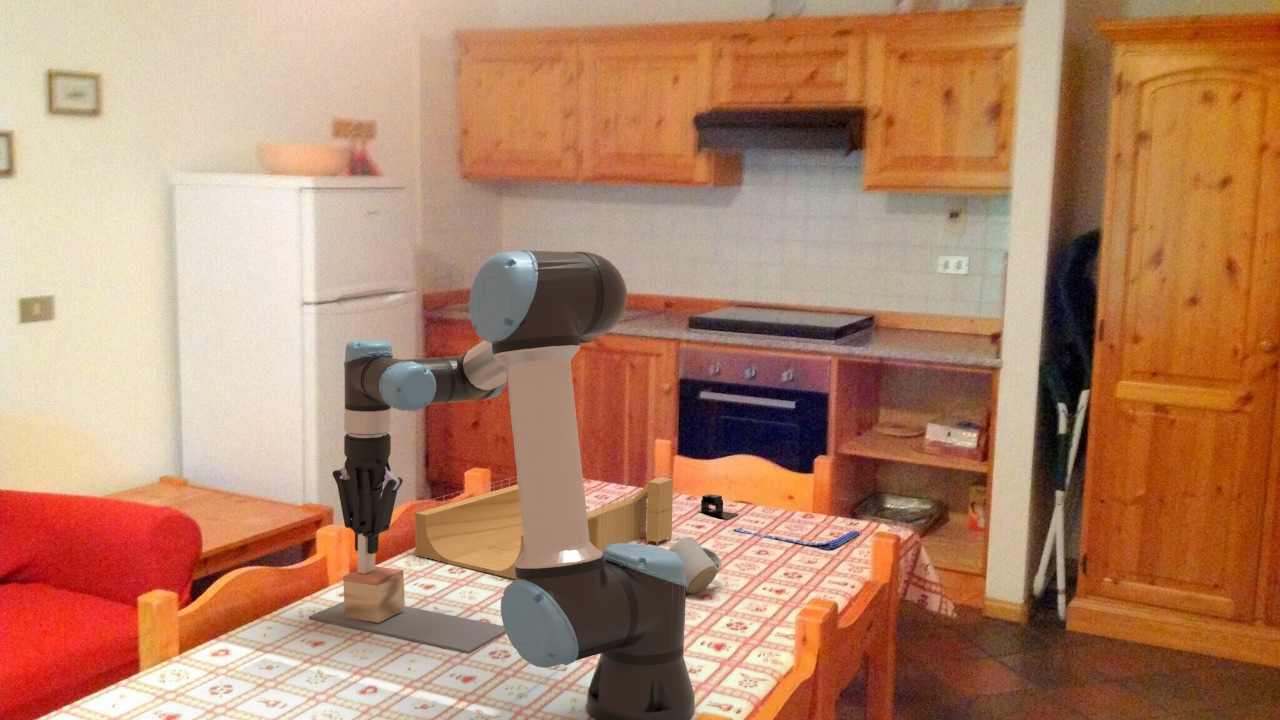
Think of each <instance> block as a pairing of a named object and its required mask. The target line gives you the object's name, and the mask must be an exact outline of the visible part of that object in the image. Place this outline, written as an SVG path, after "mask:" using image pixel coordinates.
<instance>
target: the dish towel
mask: <svg viewBox="0 0 1280 720" xmlns="http://www.w3.org/2000/svg"><path fill="white" fill-rule="evenodd" d="M732 531H733V532H736V533H737V532H738V533H741V534H746V535H749V536H754V537H760V538H765V539H770V540H779V541H783V542H787V543H792V544H799V545H802V546H807V547H811V548H816V547H817V548H818V549H817V548H816V549H817V550H823V549H825V550H824V551H829V550H833V549H832V548H834V549H836V548H837V547H840V546H842V545H843V543H844V544H845V543H847V542H848V540H849V541H850V540H852V539H853V537H854V538H856V537H857V536H859V535H858V534H859V533H860V532H859V531H858V530H849V531H850V532H849V533H847V534H846V535H844V536H842V537H840V538H838V537H837V538H838V539H835V538H834V539H835V540H833V539H831V540H832V541H830V540H828V541H829V542H827V541H824V542H825V543H823V542H818V543H816V541H810V542H809V541H802V540H799V539H791V538H788V537H787V538H786V537H780V536H773V535H769V534H761V533H758V532H757V533H756V532H751V531H748V530H745V529H743V527H740V528H733V529H732ZM856 535H857V536H856ZM855 536H856V537H855ZM846 541H847V542H846ZM835 547H836V548H835Z"/></svg>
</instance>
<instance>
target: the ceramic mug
mask: <svg viewBox="0 0 1280 720" xmlns="http://www.w3.org/2000/svg"><path fill="white" fill-rule="evenodd" d="M668 550H670V551H672V552H675V553H676V554H678V555H679V556H681V557H682V559H683V560H684V562H685V576H686V583H687V587H686V593H688V594H691V595H692V594H698V593H700V592H701V591H703V590H705V589H706V588H707V587H708V586H709V585H710V584H711V583H712V582H714V580H715V578H716V576H717V574H718V573H719V572H720V570H721V569H722V566H723V565H722V564H723V563H722V561H721V558H720V557H719V556H718V554H717V553H716V552H714V551H713V550H712V549H709V548H706V547H703V546H701V545H700V544H699V542H698V541H697V540H696V539H695V538H694V537H693V536H687V537H684V538H682V539H680V540H678V541H677V542H675V543H674V544H673V545H671V547H669V549H668Z"/></svg>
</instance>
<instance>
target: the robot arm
mask: <svg viewBox="0 0 1280 720" xmlns="http://www.w3.org/2000/svg"><path fill="white" fill-rule="evenodd" d="M626 286H627V285H626V282H625V280H624V278H623V275H622V274H621V272H620V270H619V269H618V268H617V267H616V266H615V265H614V264H613V263H612V262H611V261H610V260H609V259H607V258H605V257H603V256H601V255H599V254H596V253H594V252H593V253H592V252H589V251H553V250H552V251H551V250H548V251H547V250H528V249H527V250H526V249H523V250H516V251H506V252H499V253H496V254H493V255H492V256H490V257H488V259H486V260H485V261H484V263H483V264H482V265H481V266H480V267H479V269H478V271H477V274H476V276H474V279H473V282H472V286H471V288H470V289H471V290H470V294H469V305H468V306H469V317H470V321H471V324H472V328H473V329H475V333H476V335H477V336H478V337H479V338H480V339H481V340H483V341H481V342H479V343H478V344H476V345H475V346H474V347H472V348H470V349H469V350H467V351H466V352H464V353H462V354H460V355H454V356H439V357H425V358H410V359H403V358H402V359H399V358H394V353H393V351H392V350H393V348H392V344H391V343H390V342H389V340H384V339H382V340H381V339H366V338H365V339H364V338H363V339H354V340H349V342H347V344H346V345H345V353H344V354H345V355H344V356H345V357H344V362H343V368H344V372H343V373H344V412H343V413H344V415H343V416H344V419H343V420H344V421H343V422H344V423H343V430H344V432H346V434H345V435H344V436H343V437H344V438H343V443H344V444H343V446H344V447H343V452H344V453H343V454H344V456H345V457H346V460H345V461H344V466H343V467H341V468H340V469H335V470H333V471H332V476H333V477H332V478H334V481H335V483H336V485H337V489H338V497H339V501H340V505H341V506H340V508H341V511H342V518H343V523H344V527H345V528H346V529H349V528H350V529H351V530H353V533H354V550H355V551H356V552H357V571H358V572H359V573H363V574H365V573H368V572H370V571H373V570H375V566H376V553H378V552H379V544H380V543H379V542H380V541H379V537H380V534H381V533H384V532H387V531H388V530H389V529H390V526H391V522H392V516H393V512H394V508H395V503H396V498H397V494H398V490H399V489H400V487H401V486H402V484H403V479H402V477H400V476H399V477H396V476H395V475H394V474H393V473H392V472H391V466H390V464H389V463H390V462H389V458H390V457H391V453H392V452H391V450H392V440H391V439H392V436H391V434H390V433H389V432H390V431H391V430H392V428H391V427H392V424H391V423H392V414H391V413H392V408H393V409H396V410H398V411H404V412H405V411H409V412H417V411H420V410H423V409H425V408H426V407H427V406H430V405H440V404H447V403H459V402H460V403H461V402H472V401H473V402H474V401H476V402H482V401H485V400H488V399H489V400H490V399H494V398H497V397H498V396H500V395H501V394H502V392H503V389H504V388H505V387H506V383H507V391H508V401H509V408H510V409H509V410H510V420H511V427H512V438H513V439H512V440H513V447H514V450H513V451H514V458H515V466H516V475H517V477H516V479H517V478H518V488H519V497H520V507H521V516H522V526H523V536H524V545H525V549H524V552H523V553H522V555H521V556H520V557H519V559H518V560H517V561H516V562H515V572H516V579H514V580H513V581H511V582H510V583H508V585H507V586H506V587H505V589H504V590H503V592H502V593H503V594H502V595H503V596H502V597H501V598H500V599H501V600H500V616H501V620H502V626H504V628H505V631H506V633H505V634H506V637H507V638H508V640H509V642H510V644H511V646H512V647H513V648H514V649H515V650H516V652H517V654H518V655H519V656H520V657H521V658H522V659H523V660H524V661H526V662H527V663H529V664H530V665H532V666H535V667H538V668H544V669H547V668H552V667H556V666H561V665H562V666H563V665H564V666H568V665H571V664H573V663H574V662H577V661H578V660H579V661H580V660H582V659H587V658H590V657H593V656H597V655H599V654H600V656H599V658H598V662H597V664H596V666H595V670H594V672H593V675H592V678H591V681H590V683H589V686H588V689H587V697H586V700H587V701H586V710H587V712H588V714H589V716H590V717H591V718H593V719H594V720H690V719H692V717H693V716H694V715H695V702H696V701H695V698H696V696H695V691H694V688H693V684H692V682H691V678H690V675H689V672H688V668H687V665H686V661H685V657H684V650H685V649H684V648H685V647H684V644H685V626H686V625H685V622H686V620H685V618H686V602H687V601H686V599H687V598H686V597H687V591H686V587H687V583H686V576H685V562H684V560H683V559H682V557H681V556H679V555H678V554H676V553H675V552H672V551H670V550H669V549H668V548H667V549H666V548H662V547H659V546H655V545H650V544H649V545H648V544H643V543H642V544H641V543H631V542H629V543H618V544H610V545H607V546H606V547H605V548H604V550H603V554H602V552H601V551H600V550H598V549H597V548H596V547H595V546H594V545H592V543H591V542H590V540H589V530H588V521H587V512H588V511H587V504H586V503H587V502H586V495H585V484H584V474H583V467H582V459H581V457H582V456H581V449H580V438H579V429H578V428H579V427H578V420H577V411H576V410H577V409H576V402H575V401H576V400H575V392H574V383H573V371H572V363H571V362H572V360H573V358H574V357H575V355H576V354H578V352H579V351H580V349H581V345H584V344H589V343H591V342H593V341H594V340H596V339H599V338H600V337H602V336H604V335H606V334H607V333H609V332H611V330H613V329H614V328H615V327H616V326H617V325H618V323H619V322H620V321H621V319H622V318H623V315H624V313H625V311H626V309H627V308H626V307H627V304H628V303H627V302H628V290H627V287H626Z"/></svg>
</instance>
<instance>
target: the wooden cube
mask: <svg viewBox="0 0 1280 720" xmlns="http://www.w3.org/2000/svg"><path fill="white" fill-rule="evenodd" d="M342 578H343V579H342V581H343V602H344V608H345V617H346V618H352V619H358V620H364V621H371V622H377V623H379V622H381V621H383V620H385V619H388V618H390V617H392V616H394V615H396V614H398V613H400V612H403V611H405V606H406V604H405V603H406V602H405V577H404V569H399V568H390V567H384V566H383V567H381V566H376V565H375V570H373V571H370V572H368V573H365V574H363V573H359V572H358V570H356V571H354V572H353V571H352V572H350V573H349V574H346V575H343V577H342Z"/></svg>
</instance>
